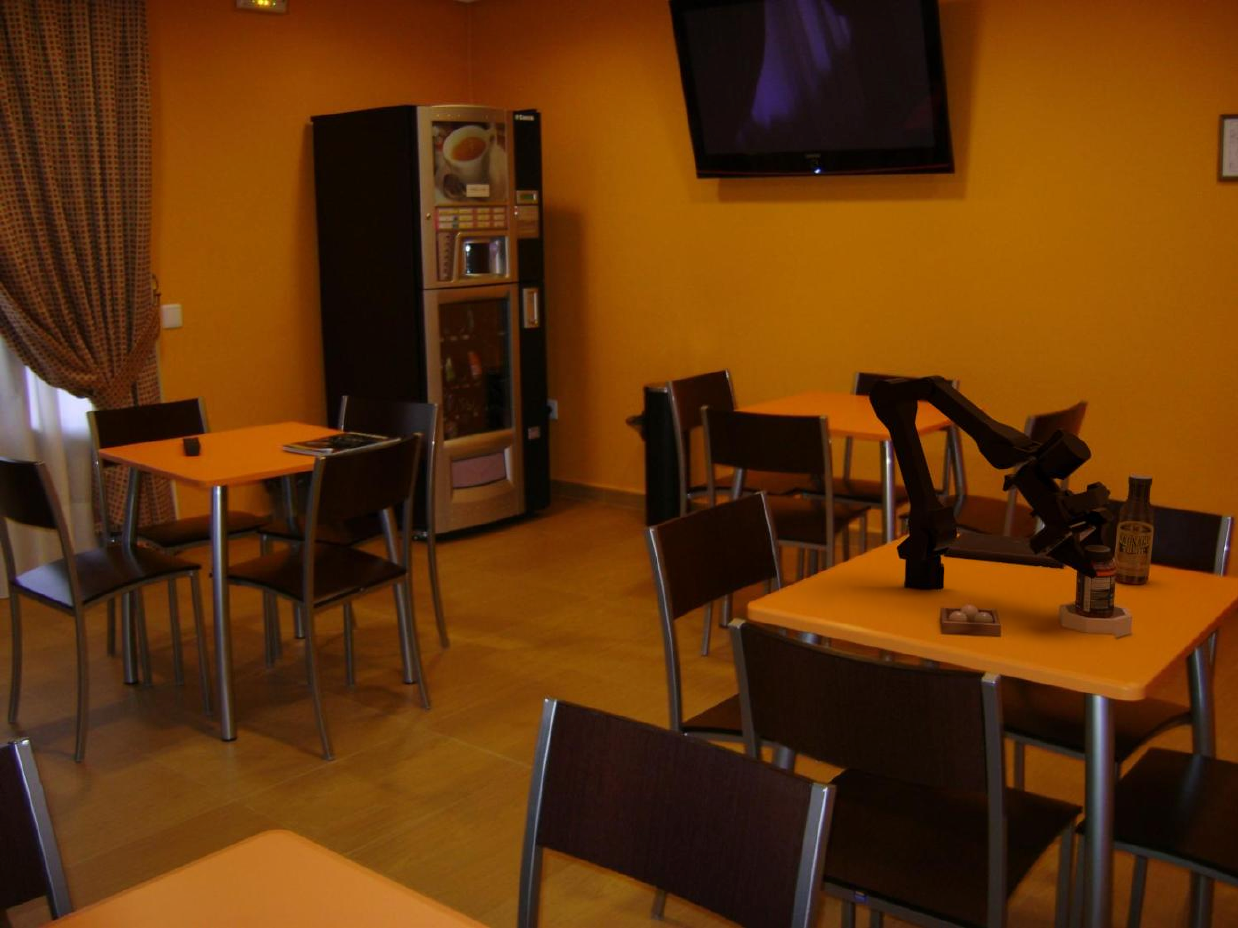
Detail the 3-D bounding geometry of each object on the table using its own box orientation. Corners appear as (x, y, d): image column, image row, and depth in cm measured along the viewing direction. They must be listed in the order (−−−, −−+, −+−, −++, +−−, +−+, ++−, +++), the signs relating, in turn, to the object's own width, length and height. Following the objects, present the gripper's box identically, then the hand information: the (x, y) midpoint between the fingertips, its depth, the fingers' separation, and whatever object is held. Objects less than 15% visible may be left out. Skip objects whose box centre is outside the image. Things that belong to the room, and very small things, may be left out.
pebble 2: (960, 624, 208) (960, 607, 208) (959, 619, 211) (959, 602, 211) (979, 625, 208) (979, 608, 207) (977, 620, 211) (978, 602, 210)
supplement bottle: (1074, 607, 212) (1077, 541, 210) (1112, 610, 210) (1116, 543, 208) (1075, 618, 206) (1078, 551, 204) (1114, 621, 205) (1118, 553, 202)
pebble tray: (942, 638, 204) (942, 622, 204) (940, 621, 213) (940, 606, 212) (1000, 640, 202) (1001, 625, 202) (996, 624, 211) (996, 609, 211)
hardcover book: (962, 542, 270) (963, 531, 270) (1076, 553, 259) (1077, 542, 259) (943, 559, 256) (944, 547, 256) (1063, 571, 245) (1063, 560, 245)
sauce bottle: (1112, 584, 234) (1118, 477, 231) (1113, 575, 240) (1118, 472, 236) (1150, 587, 232) (1157, 480, 228) (1150, 578, 238) (1157, 473, 234)
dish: (1064, 636, 204) (1065, 618, 204) (1056, 617, 214) (1057, 599, 214) (1134, 639, 202) (1135, 621, 202) (1123, 620, 212) (1124, 602, 212)
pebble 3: (974, 632, 204) (974, 614, 204) (973, 627, 207) (973, 609, 207) (993, 633, 204) (994, 615, 203) (992, 627, 206) (992, 610, 206)
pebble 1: (948, 631, 205) (949, 613, 204) (947, 626, 208) (948, 608, 207) (967, 632, 204) (968, 614, 204) (966, 627, 207) (967, 609, 207)
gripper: (1050, 475, 200) (1113, 556, 194) (1106, 460, 213) (1167, 535, 207) (1002, 516, 207) (1062, 595, 202) (1060, 499, 220) (1117, 573, 214)
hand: (1104, 573), depth 206 cm, fingers closed on supplement bottle, 6 cm apart
